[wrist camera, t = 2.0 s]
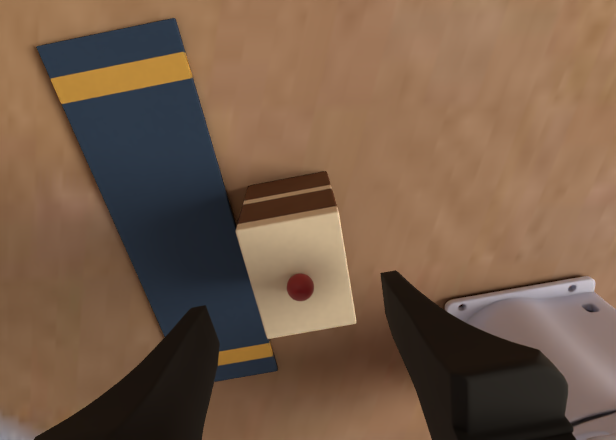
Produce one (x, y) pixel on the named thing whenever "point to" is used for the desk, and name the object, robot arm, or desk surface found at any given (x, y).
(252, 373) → the cloth
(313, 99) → the desk surface
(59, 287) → the desk surface
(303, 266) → the cake slice
